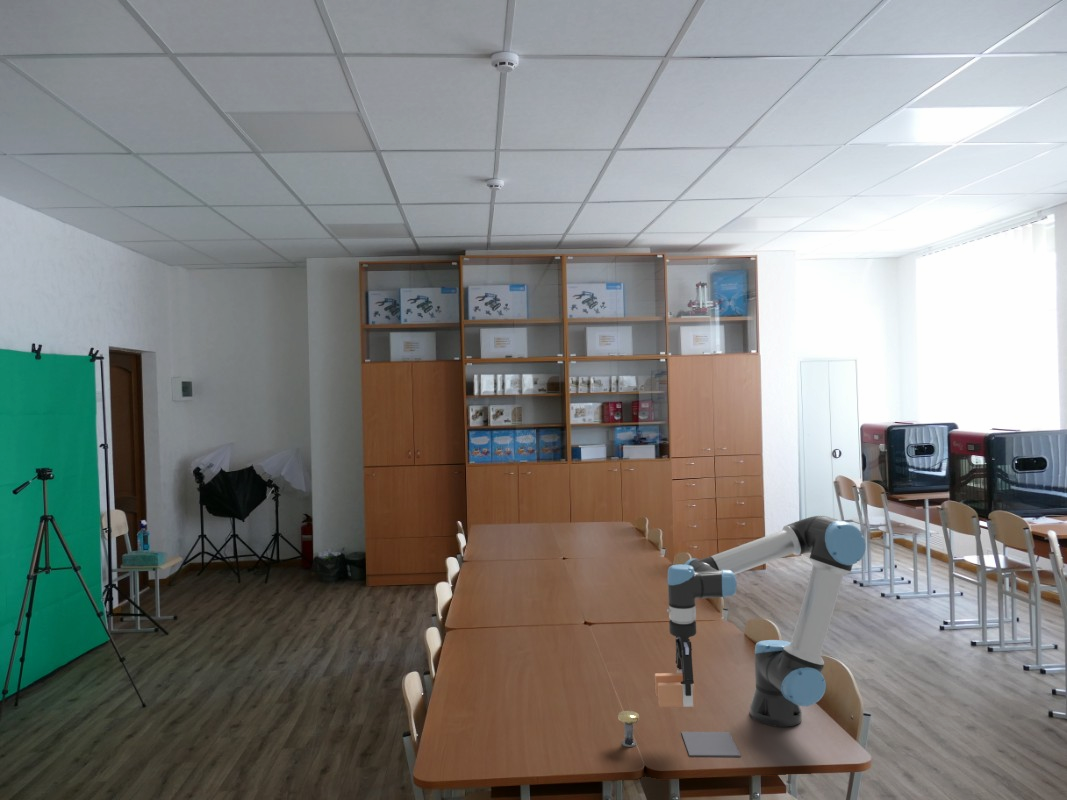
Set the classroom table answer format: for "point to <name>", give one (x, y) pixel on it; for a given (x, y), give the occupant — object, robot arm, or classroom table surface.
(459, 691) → the classroom table surface
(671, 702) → the c link
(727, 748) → the mat
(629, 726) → the knob post
